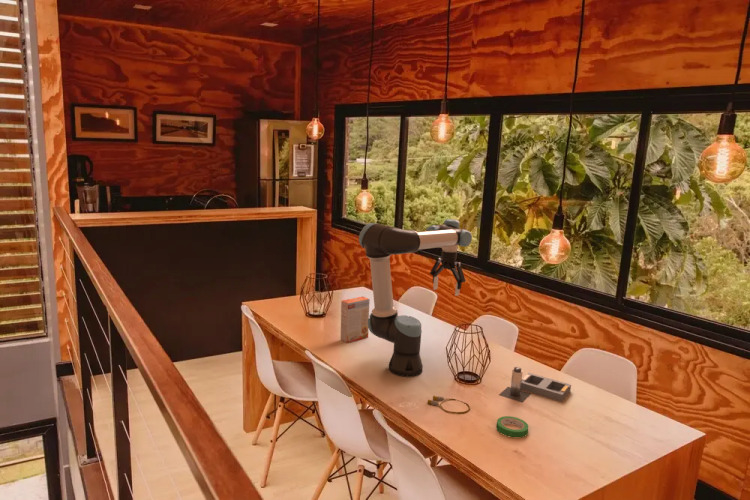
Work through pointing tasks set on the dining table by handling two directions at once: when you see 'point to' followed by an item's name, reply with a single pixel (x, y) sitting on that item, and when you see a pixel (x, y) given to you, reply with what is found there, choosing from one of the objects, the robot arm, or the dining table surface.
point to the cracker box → (354, 319)
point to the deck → (520, 398)
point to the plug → (516, 382)
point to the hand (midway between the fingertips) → (445, 292)
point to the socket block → (545, 387)
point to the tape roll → (512, 432)
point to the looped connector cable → (437, 398)
